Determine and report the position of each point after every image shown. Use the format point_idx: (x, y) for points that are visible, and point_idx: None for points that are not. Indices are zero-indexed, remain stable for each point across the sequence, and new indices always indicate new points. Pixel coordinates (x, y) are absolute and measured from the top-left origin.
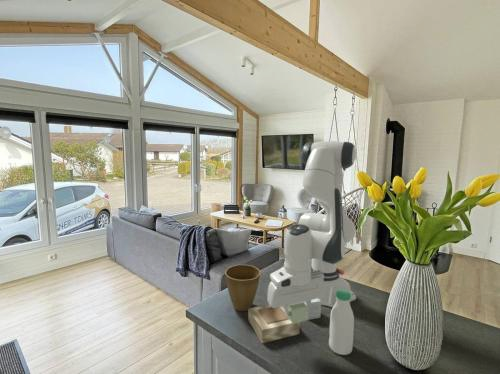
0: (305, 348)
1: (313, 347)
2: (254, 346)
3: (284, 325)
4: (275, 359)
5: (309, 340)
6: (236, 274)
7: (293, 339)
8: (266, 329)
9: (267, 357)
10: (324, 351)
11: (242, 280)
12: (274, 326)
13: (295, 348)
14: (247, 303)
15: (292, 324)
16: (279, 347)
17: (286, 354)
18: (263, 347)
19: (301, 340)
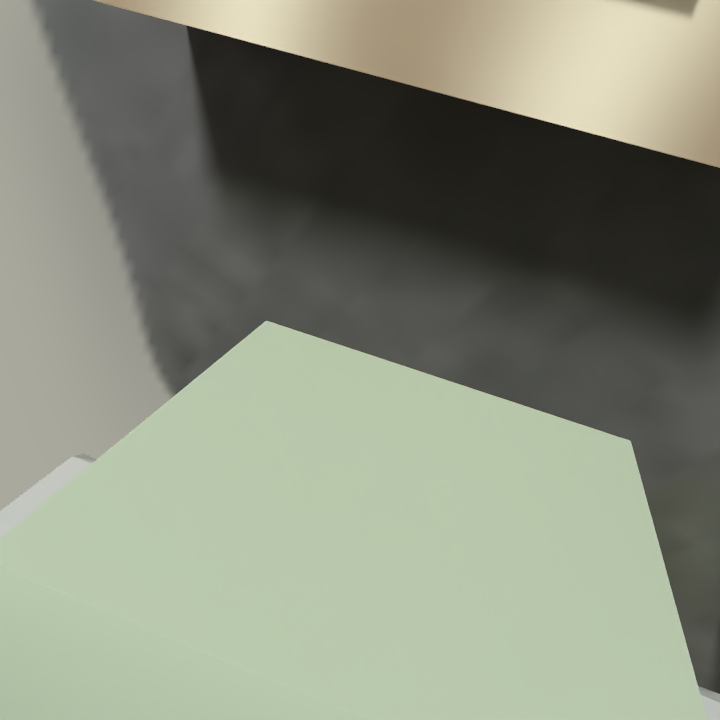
0: (541, 383)
1: (627, 427)
2: (88, 15)
3: (463, 98)
4: (187, 302)
5: (701, 330)
6: None
7: (553, 197)
8: (142, 13)
9: (135, 237)
10: (665, 526)
11: None
12: (287, 30)
13: (452, 318)
14: None
15: (623, 139)
16: (316, 201)
17: (313, 320)
18: (167, 93)
19: (619, 271)
